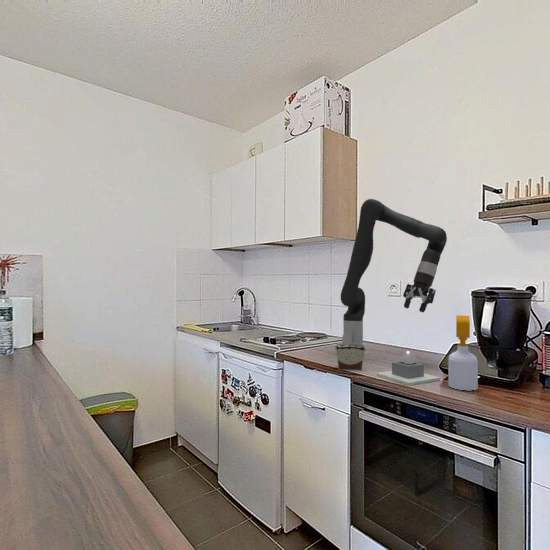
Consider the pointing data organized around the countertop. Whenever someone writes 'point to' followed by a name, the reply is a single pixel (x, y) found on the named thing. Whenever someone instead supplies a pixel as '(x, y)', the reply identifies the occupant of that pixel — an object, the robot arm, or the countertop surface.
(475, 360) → the soap bottle
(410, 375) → the plate
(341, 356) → the food container
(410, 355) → the steel tube
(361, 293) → the robot arm
